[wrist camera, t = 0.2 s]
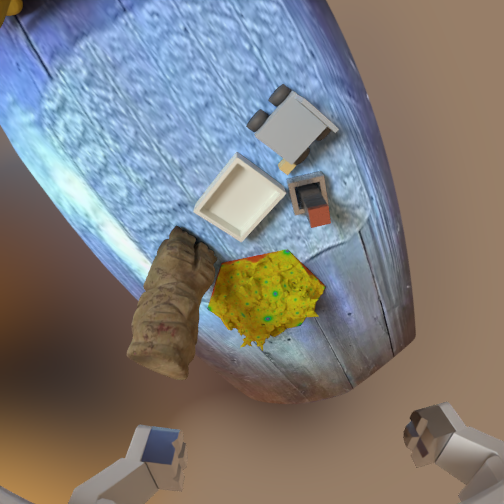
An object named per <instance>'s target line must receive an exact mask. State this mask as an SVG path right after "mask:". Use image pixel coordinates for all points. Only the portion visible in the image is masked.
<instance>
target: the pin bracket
mask: <svg viewBox="0 0 504 504" xmlns="http://www.w3.org/2000/svg"><path fill="white" fill-rule="evenodd" d="M286 180H287V185H288V189H289V194H290V198H291V203H292V207H293V211H294V214H295V215H299V214H303V213H305V211H304V209H303V207H302V204H301V203H300V204H298V202H297V198H296V193H295V188H294V187H298V186H302V185H306V184H311V183H315V182H318V188H319V191H320V192H321V194H322V196H323V198H324V199H325V201H326V203H327V204H328V198H327V192H326V185H325V179H324V175H323V174H322V172H321V171H318V172H314V173H309V174H305V175H301V176H296V177H292V178H288V179H286ZM328 207H329V205H328Z"/></svg>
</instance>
